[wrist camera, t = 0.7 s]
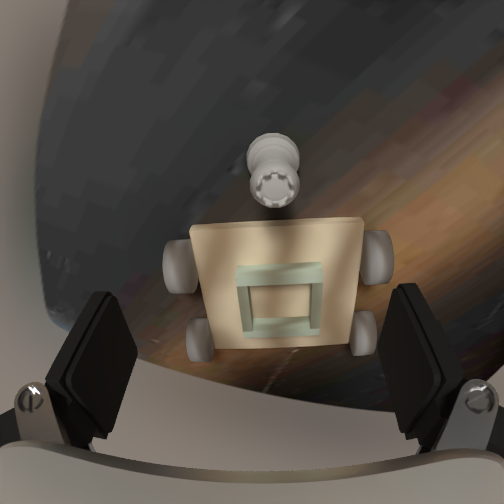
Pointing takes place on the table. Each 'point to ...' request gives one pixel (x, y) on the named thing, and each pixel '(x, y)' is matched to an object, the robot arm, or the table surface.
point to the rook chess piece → (273, 170)
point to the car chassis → (279, 283)
